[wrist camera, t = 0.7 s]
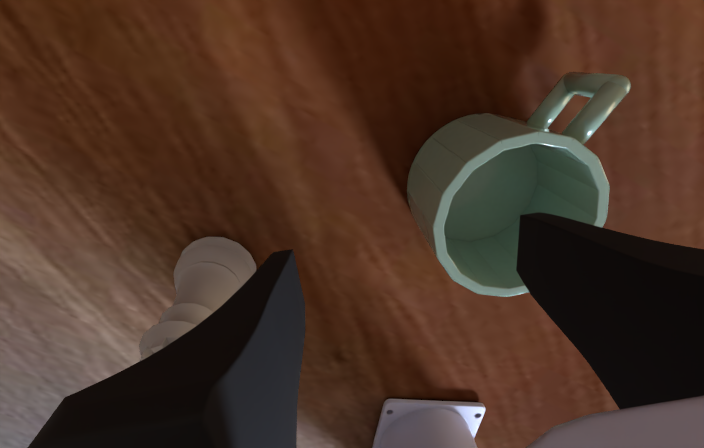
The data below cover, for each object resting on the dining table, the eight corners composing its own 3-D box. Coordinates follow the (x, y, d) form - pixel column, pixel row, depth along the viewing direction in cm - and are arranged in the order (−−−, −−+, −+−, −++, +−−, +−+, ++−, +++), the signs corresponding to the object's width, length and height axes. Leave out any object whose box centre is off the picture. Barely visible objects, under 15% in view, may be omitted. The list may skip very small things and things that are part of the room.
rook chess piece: (166, 274, 22) (92, 380, 15) (205, 218, 21) (144, 305, 14) (233, 308, 23) (195, 422, 16) (272, 258, 22) (250, 357, 15)
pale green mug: (480, 263, 24) (523, 319, 19) (379, 205, 21) (398, 250, 16) (609, 113, 20) (704, 133, 15) (506, 25, 18) (578, 14, 13)
